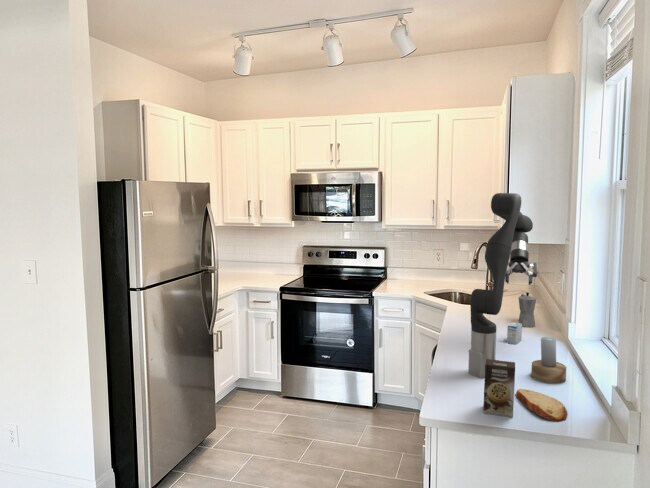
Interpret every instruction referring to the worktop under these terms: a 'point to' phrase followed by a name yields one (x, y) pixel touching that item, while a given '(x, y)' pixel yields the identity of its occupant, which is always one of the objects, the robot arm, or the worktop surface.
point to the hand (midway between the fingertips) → (518, 283)
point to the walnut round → (548, 372)
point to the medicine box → (514, 333)
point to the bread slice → (542, 405)
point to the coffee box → (499, 387)
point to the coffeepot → (527, 310)
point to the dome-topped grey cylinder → (548, 351)
